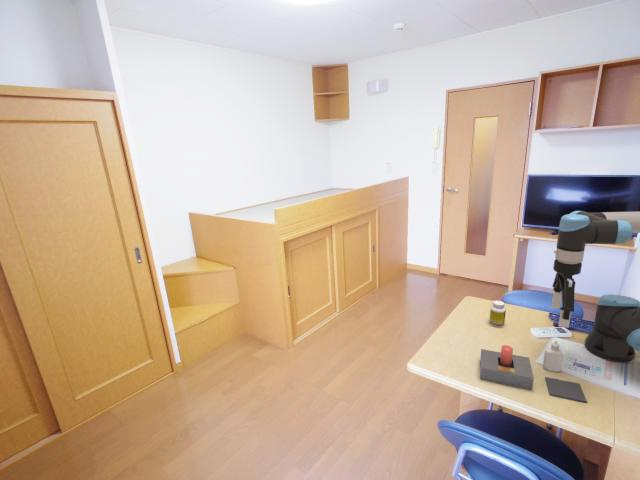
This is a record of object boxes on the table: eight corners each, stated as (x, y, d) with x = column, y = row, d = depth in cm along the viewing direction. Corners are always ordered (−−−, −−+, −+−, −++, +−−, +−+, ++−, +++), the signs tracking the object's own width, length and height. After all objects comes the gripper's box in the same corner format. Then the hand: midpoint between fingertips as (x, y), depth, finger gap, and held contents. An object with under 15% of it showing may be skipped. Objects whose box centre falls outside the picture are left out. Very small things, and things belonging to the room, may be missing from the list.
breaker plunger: (510, 361, 122) (512, 346, 120) (511, 367, 119) (513, 352, 117) (499, 359, 124) (501, 344, 122) (500, 365, 121) (501, 350, 119)
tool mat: (579, 385, 115) (579, 383, 115) (586, 403, 107) (587, 401, 107) (545, 378, 119) (545, 376, 119) (549, 395, 112) (549, 393, 111)
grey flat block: (527, 369, 124) (529, 357, 123) (532, 390, 114) (533, 377, 113) (480, 360, 131) (481, 348, 130) (480, 379, 121) (481, 367, 119)
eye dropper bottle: (558, 375, 120) (563, 346, 117) (540, 368, 125) (544, 340, 121) (562, 370, 123) (567, 341, 120) (545, 363, 127) (549, 335, 124)
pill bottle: (505, 328, 151) (508, 306, 148) (490, 327, 153) (492, 305, 150) (502, 321, 157) (504, 300, 154) (488, 320, 159) (490, 299, 156)
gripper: (548, 248, 124) (541, 300, 130) (562, 272, 103) (553, 333, 109) (572, 250, 121) (564, 303, 127) (592, 275, 100) (581, 337, 106)
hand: (559, 317), depth 118 cm, fingers open, 13 cm apart
